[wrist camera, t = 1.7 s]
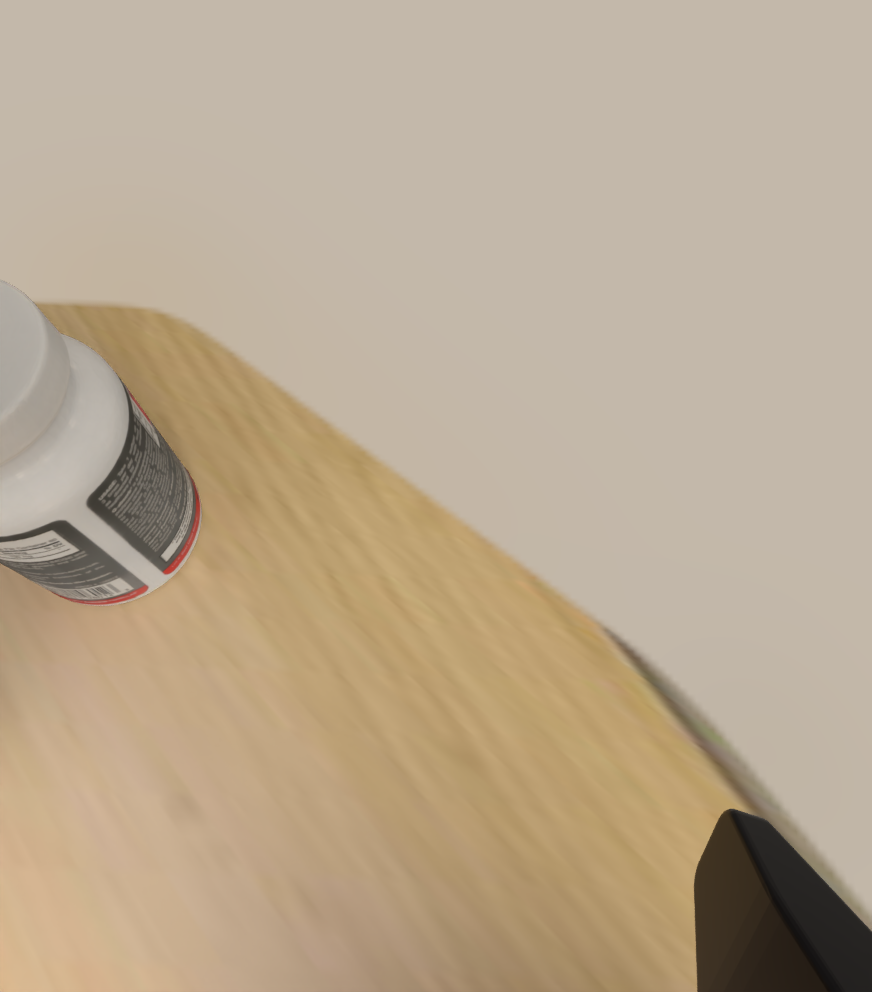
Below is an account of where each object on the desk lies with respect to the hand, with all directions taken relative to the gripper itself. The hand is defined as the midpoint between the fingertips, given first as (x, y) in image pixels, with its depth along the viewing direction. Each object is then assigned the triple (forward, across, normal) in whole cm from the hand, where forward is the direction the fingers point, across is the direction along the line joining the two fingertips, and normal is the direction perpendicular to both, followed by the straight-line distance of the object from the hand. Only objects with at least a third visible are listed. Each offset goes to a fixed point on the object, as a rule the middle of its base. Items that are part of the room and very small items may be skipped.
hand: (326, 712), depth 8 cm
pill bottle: (+14, +11, +6) cm, 19 cm away
